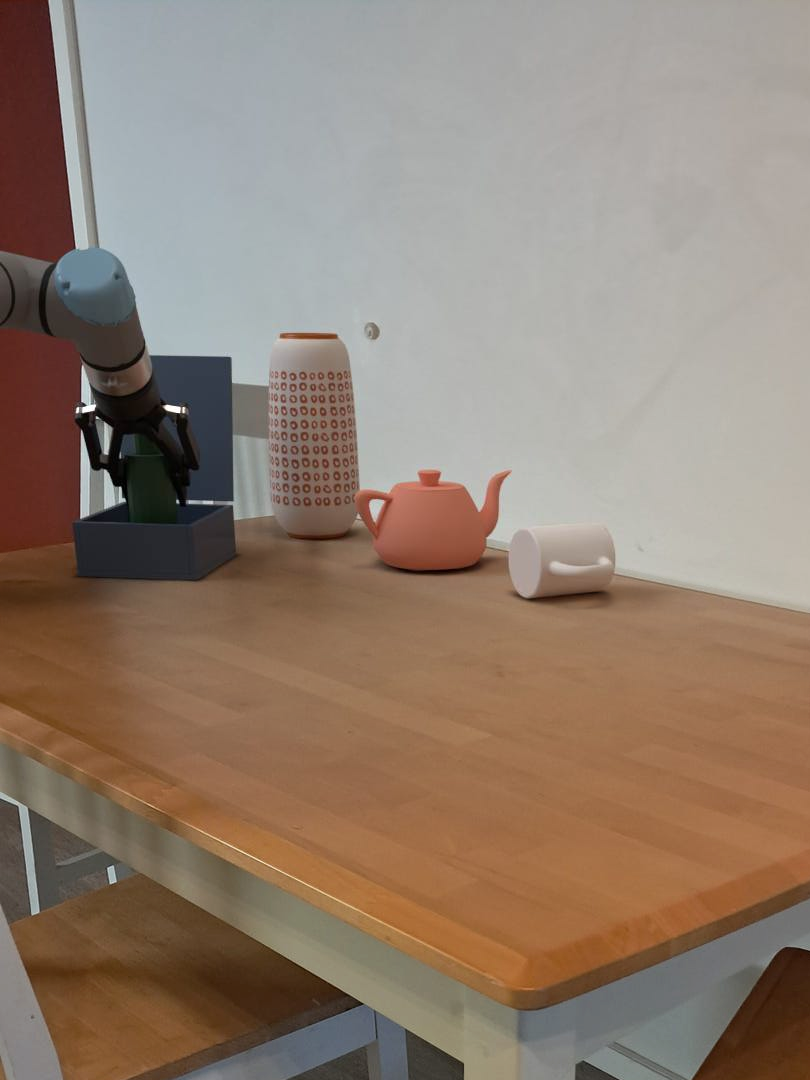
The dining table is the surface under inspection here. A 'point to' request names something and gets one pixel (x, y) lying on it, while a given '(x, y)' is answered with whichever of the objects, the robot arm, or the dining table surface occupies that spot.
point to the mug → (561, 559)
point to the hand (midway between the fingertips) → (157, 498)
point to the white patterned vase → (312, 436)
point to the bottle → (150, 484)
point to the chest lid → (200, 418)
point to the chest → (155, 543)
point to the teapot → (430, 522)
